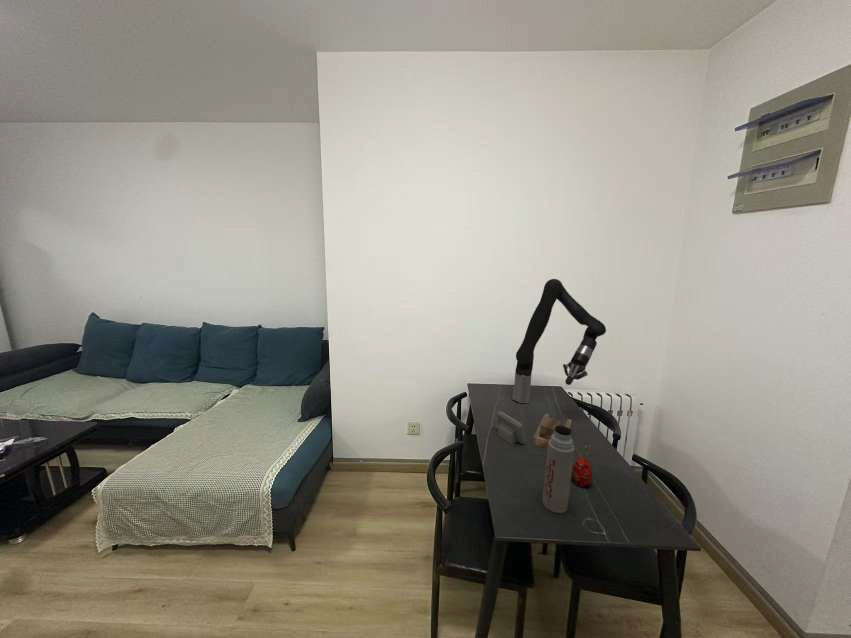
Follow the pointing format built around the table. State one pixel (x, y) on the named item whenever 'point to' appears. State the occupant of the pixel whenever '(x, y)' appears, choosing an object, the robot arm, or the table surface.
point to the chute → (542, 441)
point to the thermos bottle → (558, 470)
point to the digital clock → (510, 429)
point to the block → (548, 428)
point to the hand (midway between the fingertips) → (567, 384)
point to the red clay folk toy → (582, 471)
